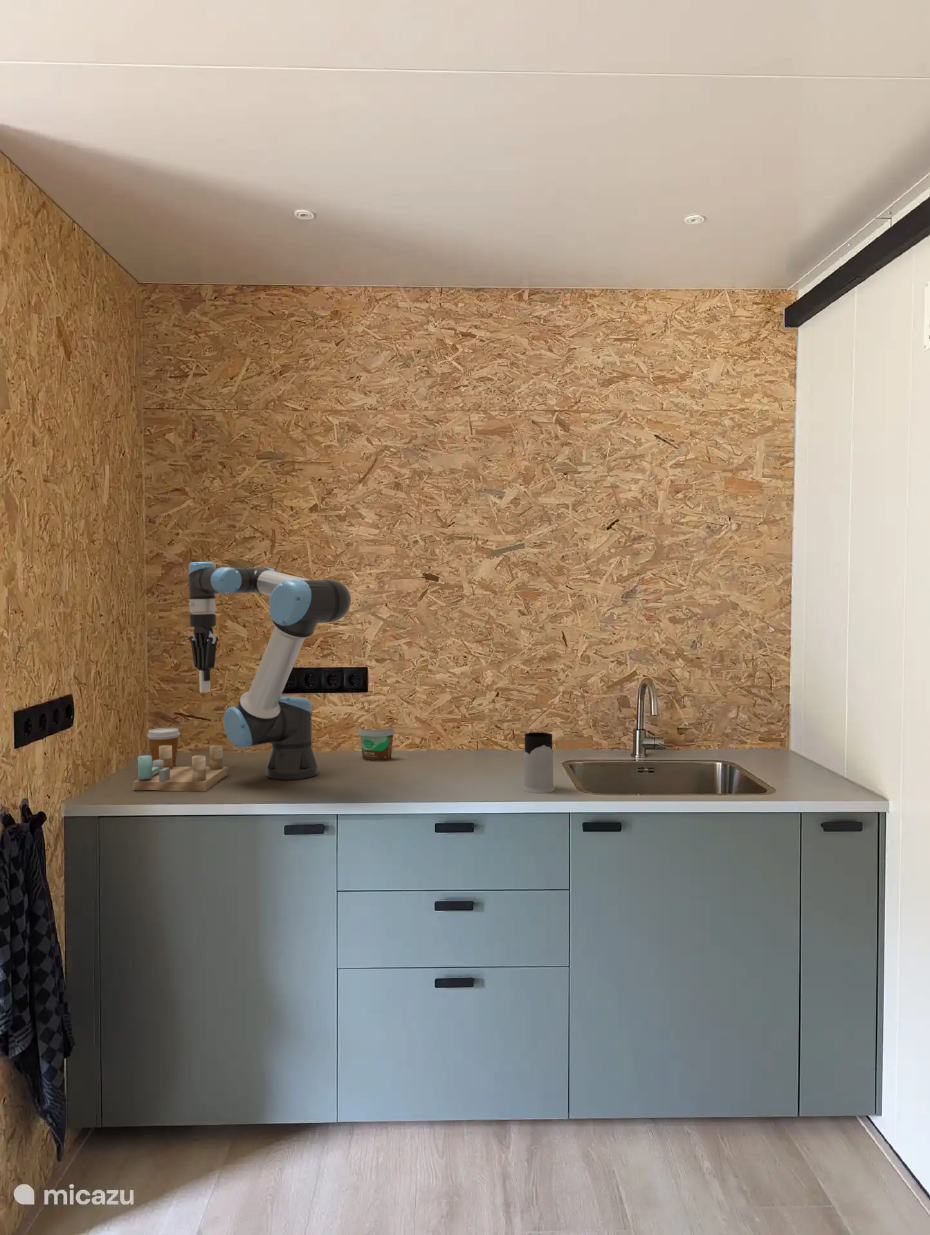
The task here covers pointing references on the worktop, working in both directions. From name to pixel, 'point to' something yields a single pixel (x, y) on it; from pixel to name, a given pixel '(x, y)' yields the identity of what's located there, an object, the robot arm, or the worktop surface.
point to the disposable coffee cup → (163, 741)
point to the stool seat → (187, 772)
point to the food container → (376, 743)
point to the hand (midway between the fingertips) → (205, 691)
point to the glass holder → (538, 763)
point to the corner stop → (164, 774)
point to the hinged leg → (148, 767)
